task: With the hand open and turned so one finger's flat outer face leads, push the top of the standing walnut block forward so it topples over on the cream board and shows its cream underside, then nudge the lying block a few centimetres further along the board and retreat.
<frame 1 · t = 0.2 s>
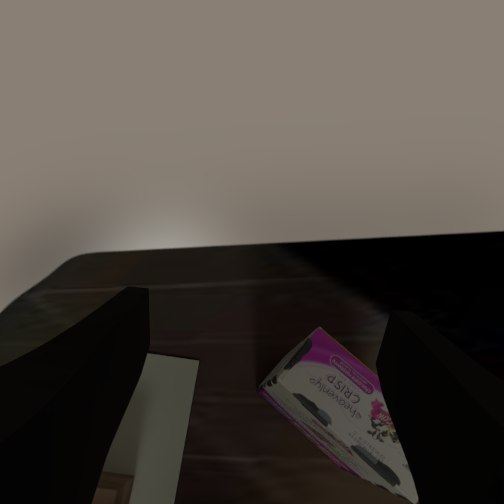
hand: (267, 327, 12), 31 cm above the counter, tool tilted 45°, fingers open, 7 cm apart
cream board: (109, 447, 38), on the counter
candy bar box: (310, 408, 41), on the counter
walnut block: (97, 495, 36), resting on cream board
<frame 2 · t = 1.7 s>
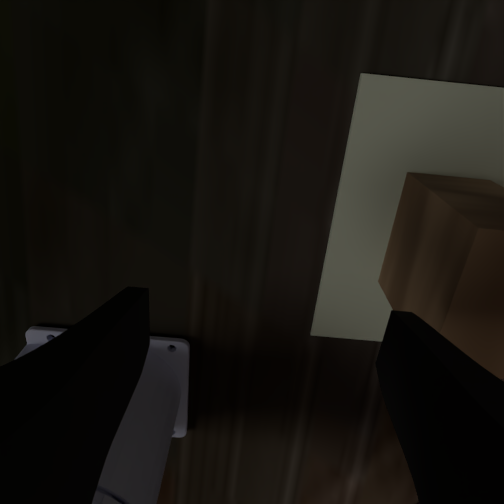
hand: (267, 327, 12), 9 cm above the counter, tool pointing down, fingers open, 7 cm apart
walnut block: (429, 233, 20), resting on cream board
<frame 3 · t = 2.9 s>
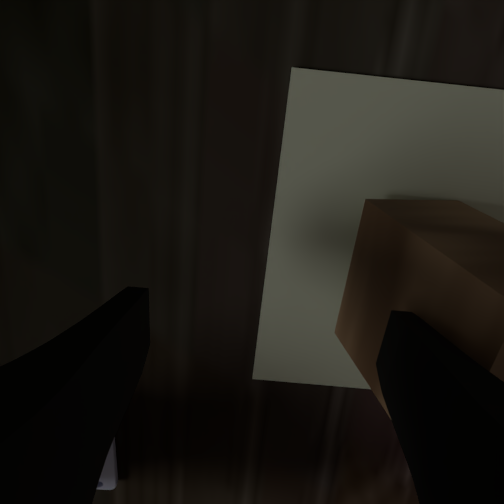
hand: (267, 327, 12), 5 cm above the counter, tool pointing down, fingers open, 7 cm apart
cream board: (478, 269, 17), on the counter
walnut block: (392, 268, 16), point 1 cm above the counter, tilted 14°, touching cream board
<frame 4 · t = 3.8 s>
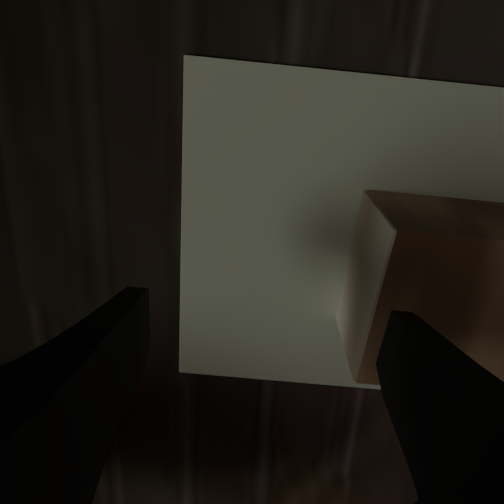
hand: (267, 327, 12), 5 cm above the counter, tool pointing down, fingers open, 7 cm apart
cream board: (394, 260, 17), on the counter
walnut block: (358, 282, 15), point 2 cm above the counter, tilted 90°, touching cream board
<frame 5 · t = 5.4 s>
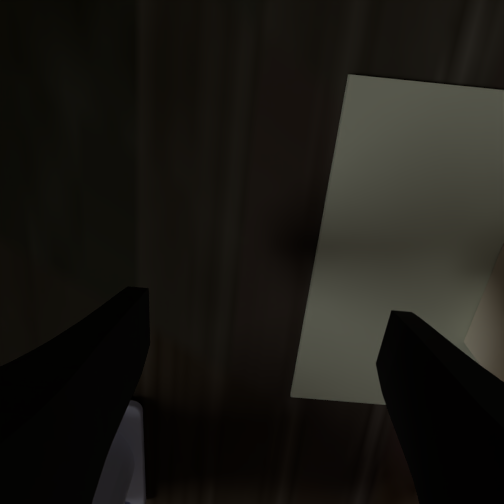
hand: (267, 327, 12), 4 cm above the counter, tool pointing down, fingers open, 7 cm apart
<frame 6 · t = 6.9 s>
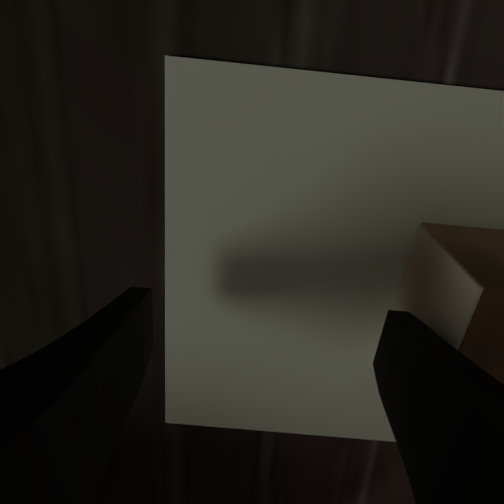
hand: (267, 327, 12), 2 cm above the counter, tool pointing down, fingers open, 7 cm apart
cream board: (419, 300, 14), on the counter
walnut block: (415, 337, 12), point 2 cm above the counter, tilted 90°, touching gripper
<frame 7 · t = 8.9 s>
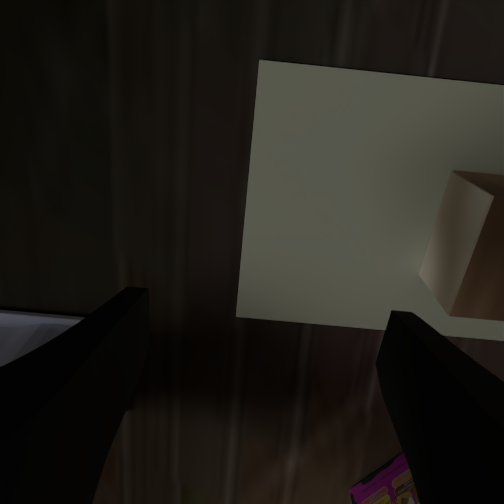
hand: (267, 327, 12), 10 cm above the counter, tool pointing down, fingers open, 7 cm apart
cream board: (413, 221, 21), on the counter
candy bar box: (422, 462, 30), on the counter
walnut block: (449, 241, 19), point 2 cm above the counter, tilted 90°, touching cream board
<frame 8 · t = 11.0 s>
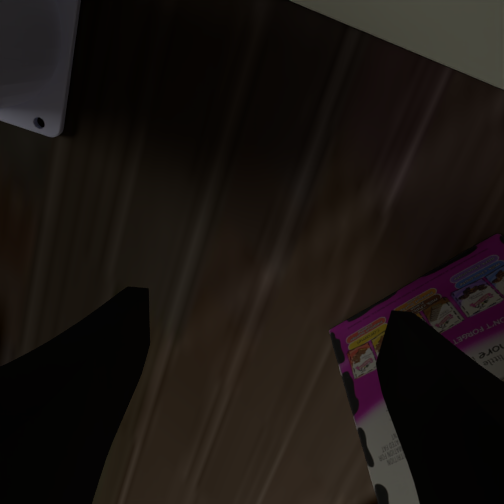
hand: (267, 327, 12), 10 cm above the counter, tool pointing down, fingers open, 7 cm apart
candy bar box: (425, 307, 24), on the counter
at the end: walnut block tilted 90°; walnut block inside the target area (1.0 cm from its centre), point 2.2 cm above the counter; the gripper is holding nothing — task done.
